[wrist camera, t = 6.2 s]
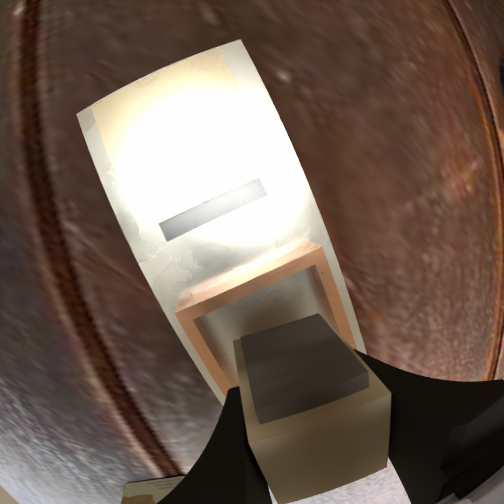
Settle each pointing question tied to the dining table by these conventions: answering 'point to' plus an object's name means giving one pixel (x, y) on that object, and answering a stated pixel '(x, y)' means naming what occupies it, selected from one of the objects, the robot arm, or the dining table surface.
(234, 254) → the cream holder stand
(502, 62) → the storage jar
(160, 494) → the skincare box
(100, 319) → the dining table surface
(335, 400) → the block
